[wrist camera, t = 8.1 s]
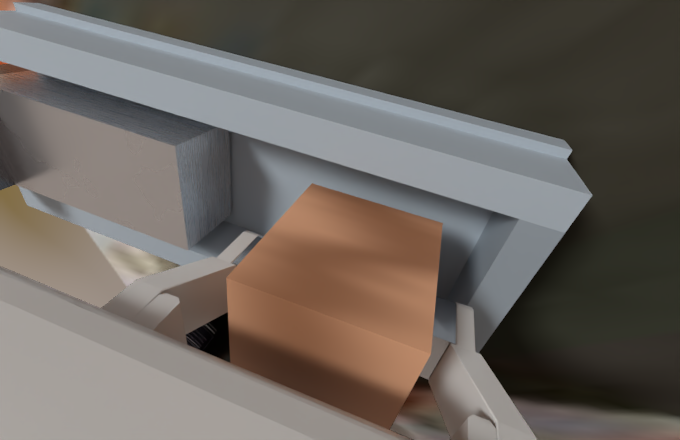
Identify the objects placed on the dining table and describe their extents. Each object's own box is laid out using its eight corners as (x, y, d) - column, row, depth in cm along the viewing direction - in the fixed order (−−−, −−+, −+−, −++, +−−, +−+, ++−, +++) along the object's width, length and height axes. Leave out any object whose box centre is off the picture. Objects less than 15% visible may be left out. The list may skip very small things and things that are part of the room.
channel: (564, 140, 11) (600, 184, 8) (460, 314, 16) (459, 379, 13) (38, 3, 14) (-66, 0, 11) (92, 181, 19) (29, 210, 17)
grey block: (229, 121, 13) (128, 167, 9) (231, 213, 16) (153, 280, 12) (28, 61, 15) (-130, 78, 11) (60, 153, 17) (-58, 194, 13)
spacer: (442, 223, 10) (431, 354, 6) (404, 314, 13) (378, 450, 9) (311, 183, 11) (226, 277, 7) (299, 277, 14) (231, 386, 10)
